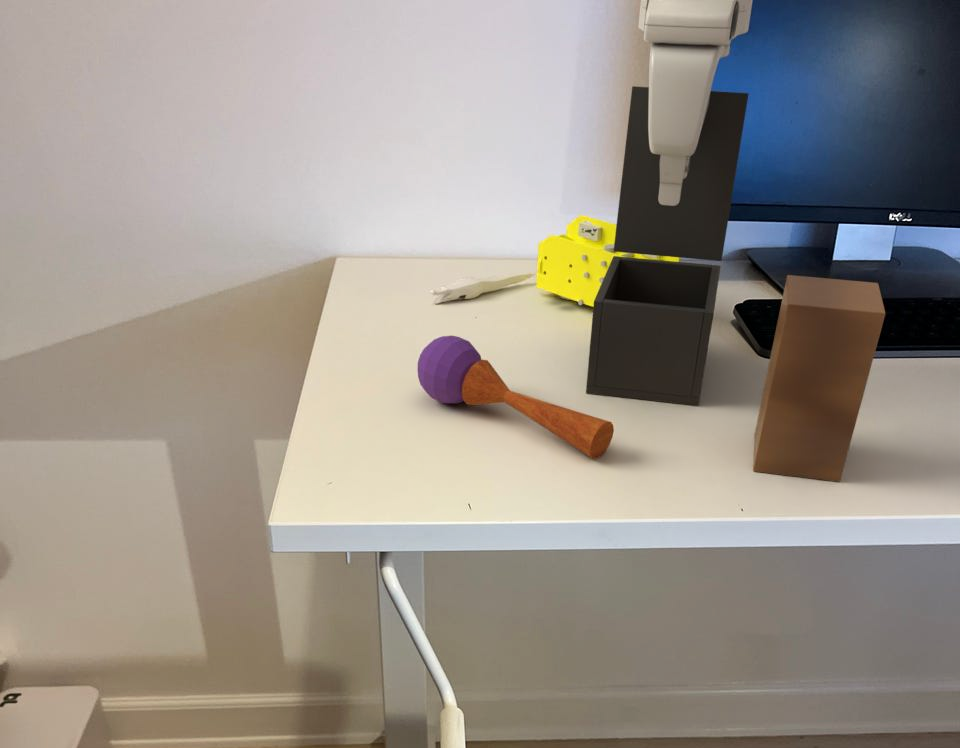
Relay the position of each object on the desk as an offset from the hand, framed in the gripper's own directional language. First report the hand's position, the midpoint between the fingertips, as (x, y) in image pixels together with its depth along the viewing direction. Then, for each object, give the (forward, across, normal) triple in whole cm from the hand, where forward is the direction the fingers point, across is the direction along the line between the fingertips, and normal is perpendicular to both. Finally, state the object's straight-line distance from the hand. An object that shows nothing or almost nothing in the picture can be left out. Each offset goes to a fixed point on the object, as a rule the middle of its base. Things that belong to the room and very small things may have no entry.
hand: (673, 189), depth 88 cm
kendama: (+17, +15, -11) cm, 25 cm away
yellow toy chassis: (+17, -17, -7) cm, 25 cm away
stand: (+17, +15, +14) cm, 26 cm away
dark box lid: (0, -8, 0) cm, 8 cm away
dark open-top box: (+17, 0, 0) cm, 17 cm away
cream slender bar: (+17, -18, -21) cm, 33 cm away
